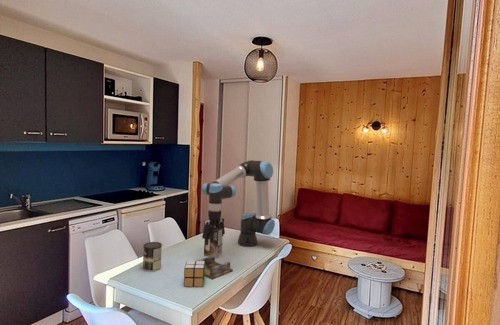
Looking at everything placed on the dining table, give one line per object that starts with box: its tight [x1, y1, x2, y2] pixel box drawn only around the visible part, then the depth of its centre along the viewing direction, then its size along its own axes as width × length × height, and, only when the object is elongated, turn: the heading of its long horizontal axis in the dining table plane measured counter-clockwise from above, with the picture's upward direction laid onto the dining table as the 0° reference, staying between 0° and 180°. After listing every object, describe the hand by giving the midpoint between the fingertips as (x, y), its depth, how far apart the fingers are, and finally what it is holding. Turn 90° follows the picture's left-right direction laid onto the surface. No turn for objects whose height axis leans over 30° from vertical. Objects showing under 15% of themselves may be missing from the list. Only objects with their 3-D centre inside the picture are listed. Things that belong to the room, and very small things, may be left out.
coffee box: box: [203, 226, 224, 259], centre depth 172 cm, size 9×6×16 cm
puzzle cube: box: [183, 260, 206, 288], centre depth 156 cm, size 10×10×10 cm
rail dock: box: [196, 256, 234, 281], centre depth 172 cm, size 16×18×5 cm
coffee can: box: [142, 241, 163, 273], centre depth 171 cm, size 10×10×14 cm
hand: (213, 248), depth 172 cm, fingers closed on coffee box, 8 cm apart
